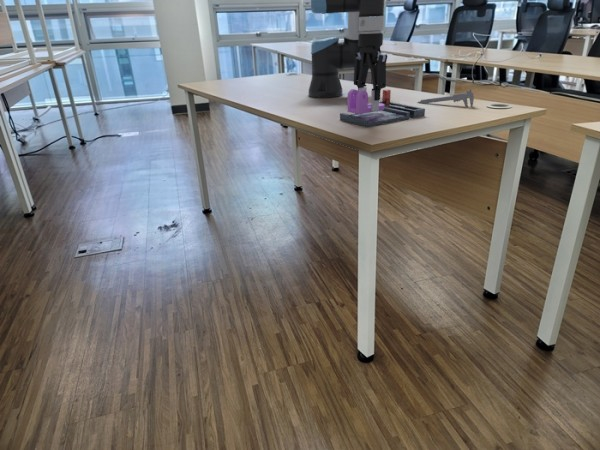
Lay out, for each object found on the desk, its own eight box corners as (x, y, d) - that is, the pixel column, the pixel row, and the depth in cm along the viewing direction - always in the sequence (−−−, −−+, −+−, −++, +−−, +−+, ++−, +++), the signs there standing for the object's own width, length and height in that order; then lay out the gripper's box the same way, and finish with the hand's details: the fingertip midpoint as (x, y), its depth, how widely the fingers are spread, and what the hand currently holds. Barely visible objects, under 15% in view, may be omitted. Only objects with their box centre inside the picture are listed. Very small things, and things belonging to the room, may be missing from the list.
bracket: (358, 114, 134) (359, 91, 131) (347, 111, 139) (347, 89, 135) (387, 108, 141) (389, 87, 138) (375, 106, 145) (376, 85, 142)
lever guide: (374, 109, 155) (374, 102, 154) (384, 107, 157) (384, 100, 156) (413, 118, 140) (414, 110, 139) (424, 115, 142) (425, 108, 141)
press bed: (339, 120, 142) (339, 113, 141) (380, 112, 150) (381, 106, 149) (366, 127, 131) (366, 120, 130) (409, 118, 139) (409, 112, 138)
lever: (380, 107, 154) (380, 90, 151) (386, 106, 155) (386, 89, 152) (399, 111, 146) (400, 93, 143) (405, 110, 147) (406, 92, 145)
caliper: (472, 107, 153) (475, 89, 150) (471, 107, 152) (474, 89, 150) (418, 103, 164) (419, 86, 161) (417, 103, 163) (418, 86, 160)
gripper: (342, 33, 135) (342, 106, 145) (381, 33, 121) (378, 114, 131) (361, 31, 139) (359, 103, 149) (401, 31, 124) (396, 111, 134)
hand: (368, 108), depth 140 cm, fingers closed on bracket, 6 cm apart
